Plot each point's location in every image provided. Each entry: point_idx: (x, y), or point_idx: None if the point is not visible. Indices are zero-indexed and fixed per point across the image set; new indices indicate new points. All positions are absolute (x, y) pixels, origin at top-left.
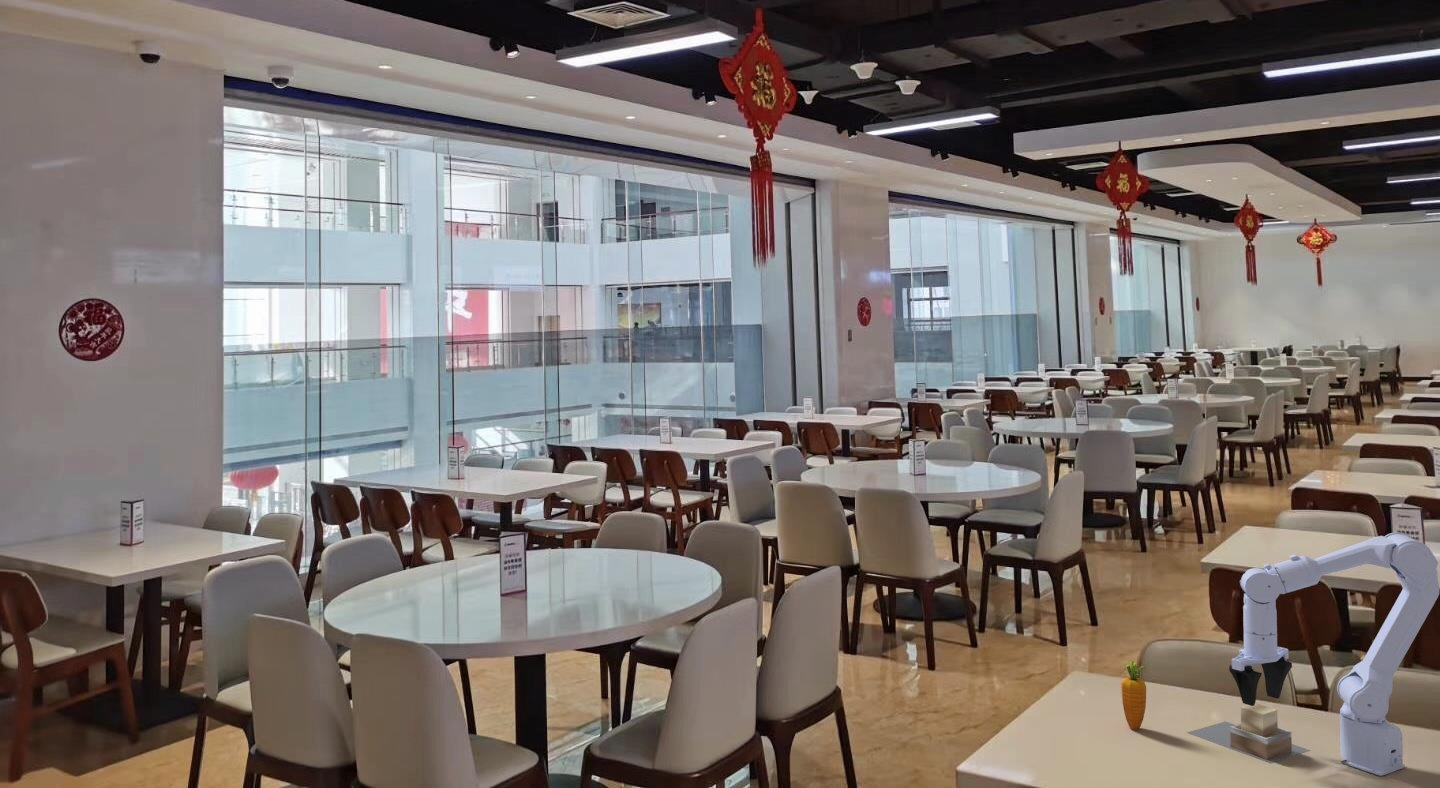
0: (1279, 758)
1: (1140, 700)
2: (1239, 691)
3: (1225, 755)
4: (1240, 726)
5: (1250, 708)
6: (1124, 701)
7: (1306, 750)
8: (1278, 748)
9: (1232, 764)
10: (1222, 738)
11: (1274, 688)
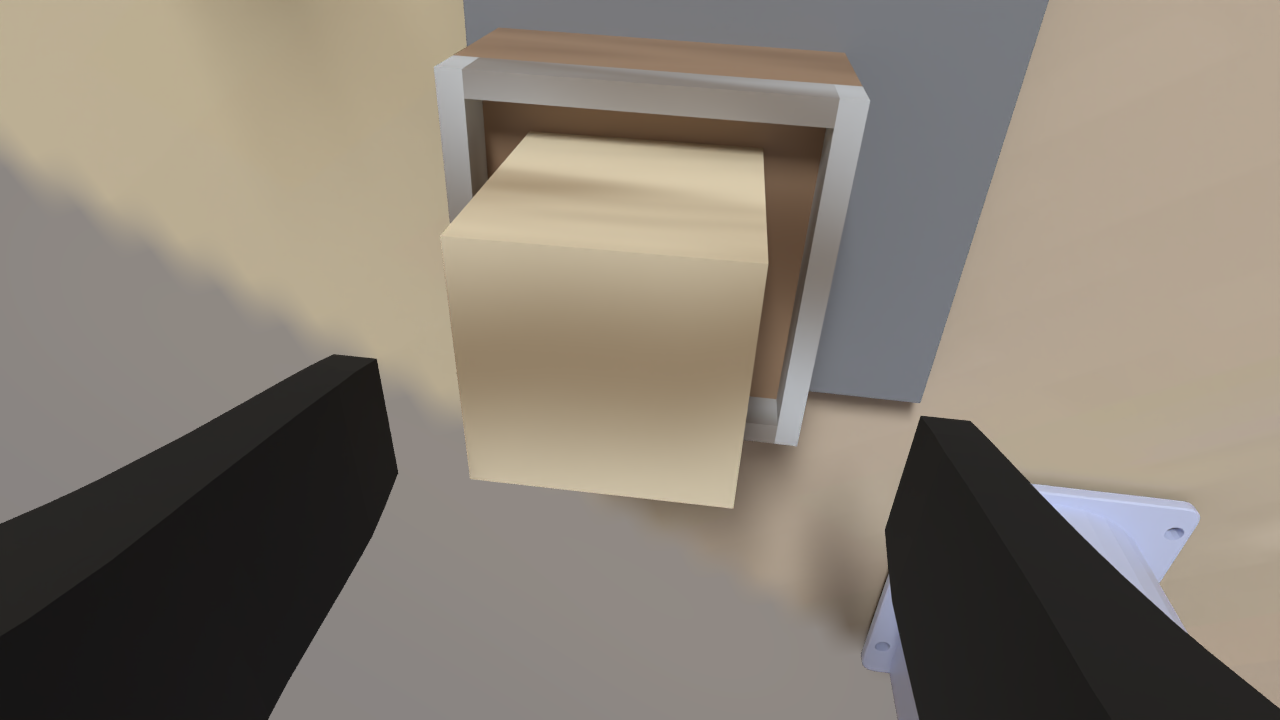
0: None
1: None
2: (197, 429)
3: (419, 36)
4: (568, 103)
5: (508, 329)
6: None
7: (894, 393)
8: None
9: (336, 166)
10: None
11: (929, 611)
